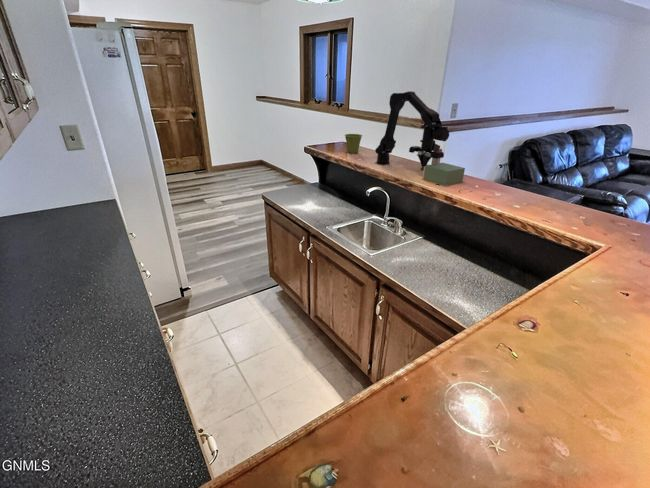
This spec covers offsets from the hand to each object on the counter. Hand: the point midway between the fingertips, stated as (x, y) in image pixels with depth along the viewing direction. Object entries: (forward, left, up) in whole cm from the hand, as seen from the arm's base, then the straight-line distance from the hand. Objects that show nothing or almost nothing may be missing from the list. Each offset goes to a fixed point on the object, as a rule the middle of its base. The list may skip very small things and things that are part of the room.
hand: (423, 168), depth 185 cm
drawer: (+9, -2, -3) cm, 10 cm away
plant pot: (-63, +16, -3) cm, 65 cm away
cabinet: (+13, -2, -4) cm, 14 cm away
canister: (0, +13, -4) cm, 14 cm away
